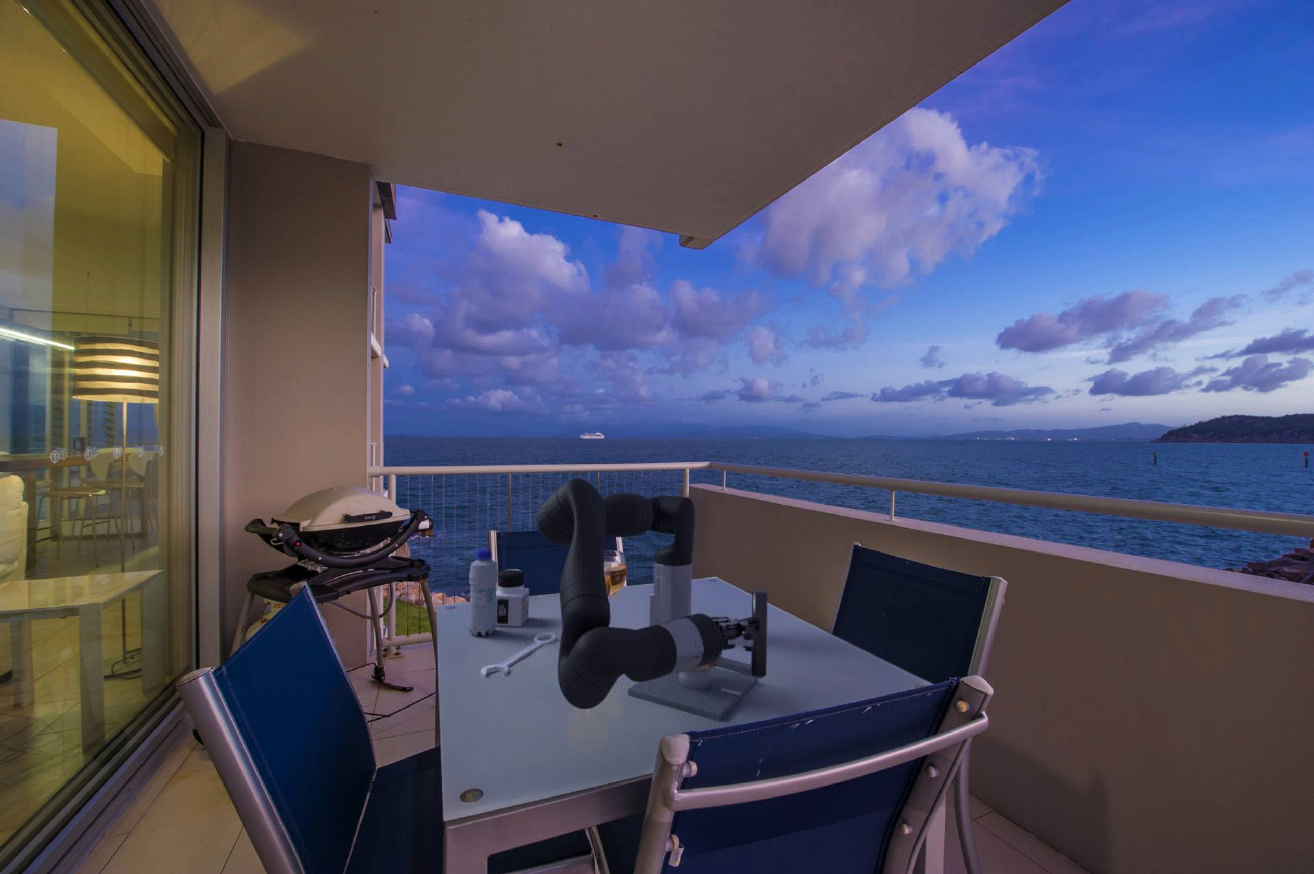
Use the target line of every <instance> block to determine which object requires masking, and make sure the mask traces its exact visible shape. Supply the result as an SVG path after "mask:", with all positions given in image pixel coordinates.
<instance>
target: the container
mask: <svg viewBox="0 0 1314 874" xmlns="http://www.w3.org/2000/svg"><path fill="white" fill-rule="evenodd" d="M497 579H498V581H497V589H498V590H496V627H522V626H523V625H524V623H525V622H526V621H527V619H528V618H529V611H530V608H529V607H530V606H529V605H530V589H529V588H528V587H526V588H525V572H524V571H522V570H521V569H513V568H512V569H504V570H501V571H499V572H498V578H497Z"/></svg>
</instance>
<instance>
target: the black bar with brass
mask: <svg viewBox="0 0 1314 874" xmlns="http://www.w3.org/2000/svg"><path fill="white" fill-rule="evenodd" d="M751 617H755V618H759V619H760V631H759V632H756V633H753V638H754V642H753V651H750V652H751V655H750V656H751V657H750V658H751V661H750V662H751V664H750V663H745V662H742V661H738V660H734V659H730V658H727V657H724V656H722V655H723V653H722V652H723V651H722V652H721V653H720V655H719V656H718V658H717V659H716V660H715V661H714V662H712V663H710V664H707V665H704V666H701V667H697V668H694V669H692V670H702V669H709V668H714V667H715V668H719V669H724V670H728V671H732V672H736V673H741V674H745V675H748V676H752V677H755V678H758V680H762V679H763V678H765V677H767V667H768V666H767V657H768V655H767V654H768V653H767V651H768V648H767V647H768V644H767V643H768V591H765V590H758V589H757V590H752V592H751Z"/></svg>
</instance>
